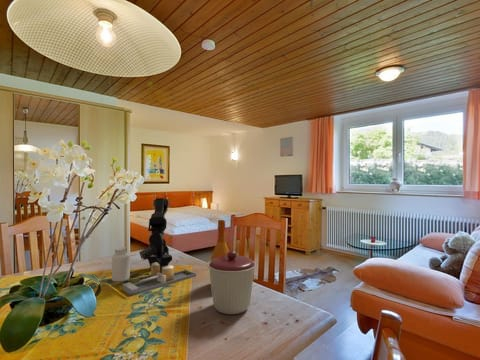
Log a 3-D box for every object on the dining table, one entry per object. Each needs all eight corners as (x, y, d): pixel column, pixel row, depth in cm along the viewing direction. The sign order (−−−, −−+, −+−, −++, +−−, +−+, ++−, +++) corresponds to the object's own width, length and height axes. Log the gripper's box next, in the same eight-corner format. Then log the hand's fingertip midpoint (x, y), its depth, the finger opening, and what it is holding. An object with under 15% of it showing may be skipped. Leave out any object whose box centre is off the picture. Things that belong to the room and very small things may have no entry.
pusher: (135, 286, 115) (135, 278, 116) (158, 279, 123) (158, 272, 123) (142, 290, 111) (142, 282, 111) (166, 283, 119) (166, 275, 119)
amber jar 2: (159, 280, 123) (159, 266, 123) (169, 277, 127) (169, 264, 127) (165, 283, 119) (165, 269, 119) (176, 280, 123) (176, 266, 123)
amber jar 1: (149, 276, 130) (149, 263, 130) (159, 274, 134) (159, 261, 134) (154, 279, 126) (154, 266, 126) (165, 276, 130) (165, 263, 130)
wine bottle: (236, 286, 118) (236, 219, 119) (220, 292, 111) (220, 222, 112) (221, 280, 125) (222, 217, 125) (205, 286, 118) (206, 219, 118)
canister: (263, 316, 91) (263, 255, 92) (212, 324, 86) (212, 259, 87) (247, 295, 109) (247, 244, 109) (203, 300, 104) (204, 247, 104)
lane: (122, 290, 113) (122, 283, 113) (185, 273, 136) (185, 267, 136) (131, 297, 106) (131, 290, 106) (196, 277, 129) (196, 271, 129)
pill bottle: (107, 281, 124) (108, 249, 124) (121, 275, 131) (121, 245, 132) (120, 283, 121) (120, 251, 121) (133, 277, 128) (133, 247, 129)
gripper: (133, 240, 131) (132, 272, 131) (151, 247, 118) (150, 281, 118) (153, 237, 139) (153, 267, 139) (172, 243, 126) (172, 275, 126)
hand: (157, 272), depth 130 cm, fingers open, 9 cm apart
